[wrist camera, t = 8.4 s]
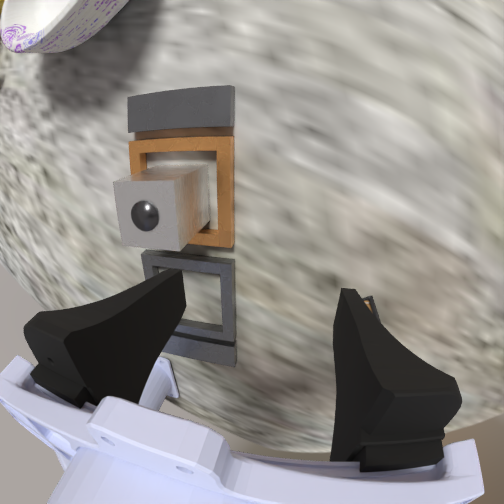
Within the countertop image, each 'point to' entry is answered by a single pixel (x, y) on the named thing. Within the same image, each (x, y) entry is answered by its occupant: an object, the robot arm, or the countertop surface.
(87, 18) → the paper bowls
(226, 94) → the rail
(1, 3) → the plant pot
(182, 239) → the brushed metal block
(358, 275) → the countertop surface
